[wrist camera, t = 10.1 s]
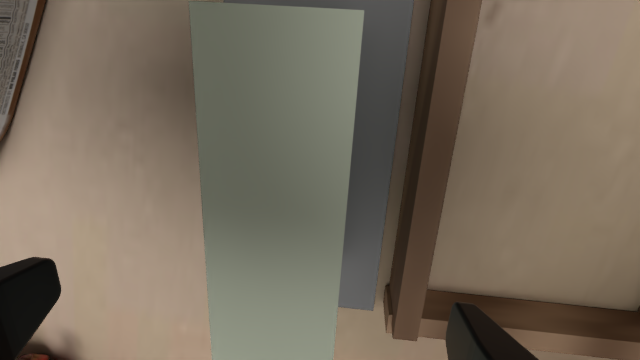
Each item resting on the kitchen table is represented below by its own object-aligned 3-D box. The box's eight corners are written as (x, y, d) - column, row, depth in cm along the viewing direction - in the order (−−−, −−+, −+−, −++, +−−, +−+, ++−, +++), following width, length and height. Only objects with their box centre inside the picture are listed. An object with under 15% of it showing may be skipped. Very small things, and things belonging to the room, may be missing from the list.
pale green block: (362, 23, 17) (363, 10, 8) (341, 255, 21) (329, 400, 13) (273, 18, 17) (188, 0, 9) (271, 248, 21) (213, 385, 13)
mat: (420, -63, 16) (422, -66, 15) (372, 305, 23) (373, 310, 22) (225, -71, 16) (221, -74, 16) (236, 290, 23) (233, 295, 23)
